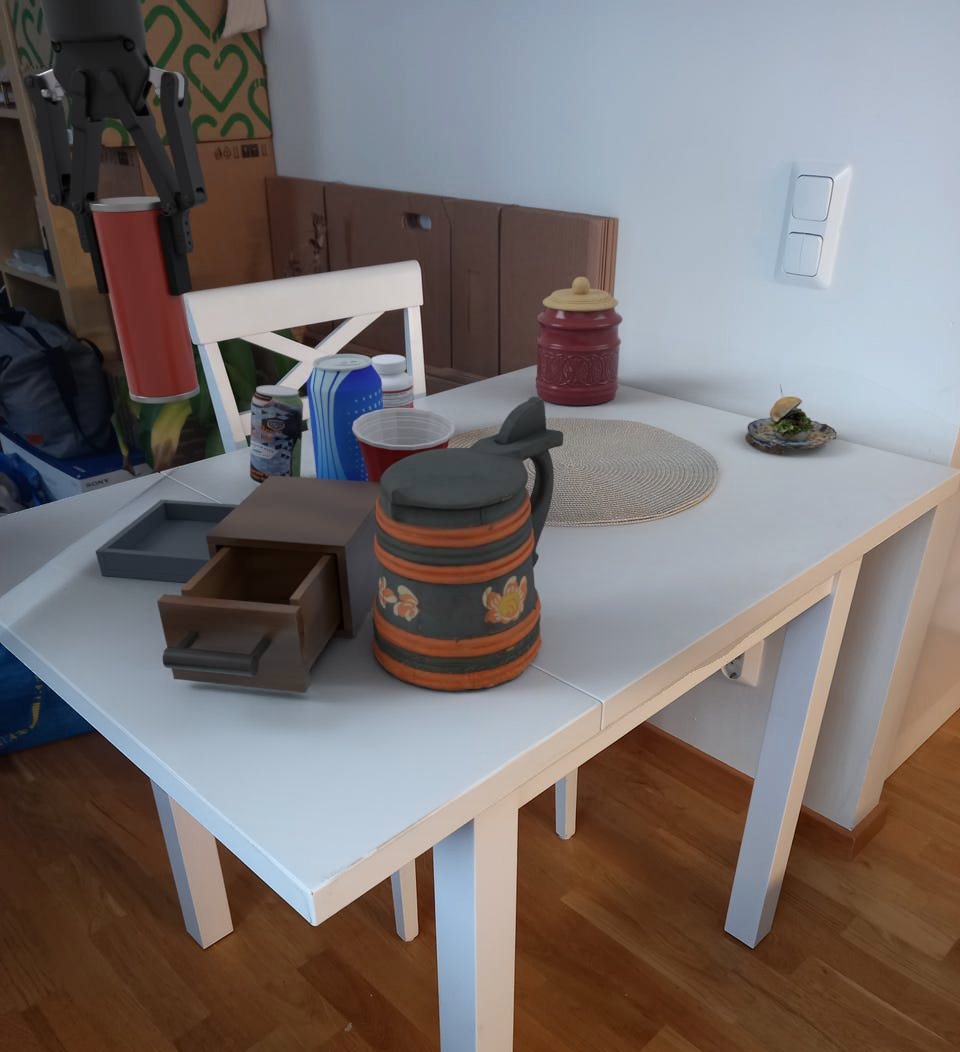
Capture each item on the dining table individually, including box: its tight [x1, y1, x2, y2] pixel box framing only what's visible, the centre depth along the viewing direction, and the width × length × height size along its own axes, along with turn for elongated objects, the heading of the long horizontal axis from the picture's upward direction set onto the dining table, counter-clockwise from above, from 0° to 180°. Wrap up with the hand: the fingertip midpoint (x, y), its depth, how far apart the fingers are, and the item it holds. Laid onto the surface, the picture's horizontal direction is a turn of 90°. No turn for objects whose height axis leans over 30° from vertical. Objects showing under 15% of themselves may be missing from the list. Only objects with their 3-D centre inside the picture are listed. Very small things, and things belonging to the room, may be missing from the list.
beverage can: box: [249, 384, 304, 486], centre depth 112 cm, size 6×7×12 cm
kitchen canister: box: [535, 276, 624, 406], centre depth 142 cm, size 13×13×18 cm
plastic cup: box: [352, 407, 455, 482], centre depth 100 cm, size 11×11×12 cm
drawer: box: [156, 545, 343, 694], centre depth 76 cm, size 18×11×7 cm, turn 169°
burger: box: [745, 384, 837, 455], centre depth 124 cm, size 12×12×8 cm
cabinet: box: [206, 476, 381, 639], centre depth 87 cm, size 15×13×9 cm
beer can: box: [306, 353, 383, 482], centre depth 107 cm, size 8×8×16 cm
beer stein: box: [372, 396, 564, 692], centre depth 77 cm, size 19×15×20 cm
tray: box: [95, 499, 239, 584], centre depth 97 cm, size 14×14×3 cm
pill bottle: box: [371, 353, 415, 409], centre depth 126 cm, size 6×6×11 cm
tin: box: [90, 196, 201, 405], centre depth 85 cm, size 6×6×17 cm
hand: (145, 291), depth 84 cm, fingers closed on tin, 6 cm apart
